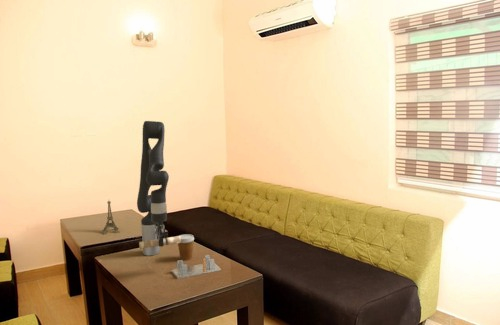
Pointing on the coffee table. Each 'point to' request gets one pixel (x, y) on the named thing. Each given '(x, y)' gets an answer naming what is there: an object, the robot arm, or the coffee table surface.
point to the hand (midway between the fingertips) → (160, 244)
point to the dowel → (156, 242)
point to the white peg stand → (195, 268)
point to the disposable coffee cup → (186, 247)
